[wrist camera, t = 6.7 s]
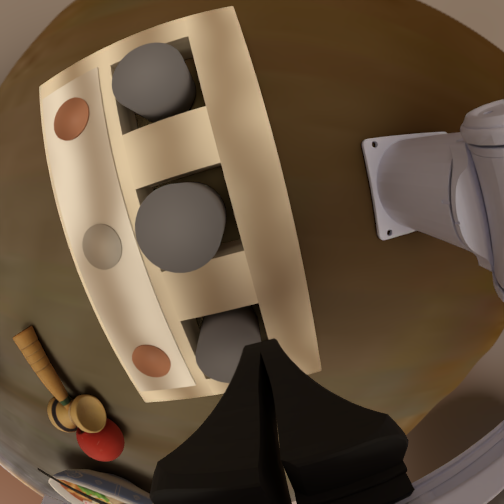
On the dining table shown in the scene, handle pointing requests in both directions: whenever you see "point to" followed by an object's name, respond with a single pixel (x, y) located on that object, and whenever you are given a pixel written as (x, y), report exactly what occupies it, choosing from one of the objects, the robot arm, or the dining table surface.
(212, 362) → the button
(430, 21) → the dining table surface
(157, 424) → the dining table surface
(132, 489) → the ramen bowl
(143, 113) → the button
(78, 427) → the kendama
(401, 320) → the dining table surface
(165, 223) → the button
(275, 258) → the button board
